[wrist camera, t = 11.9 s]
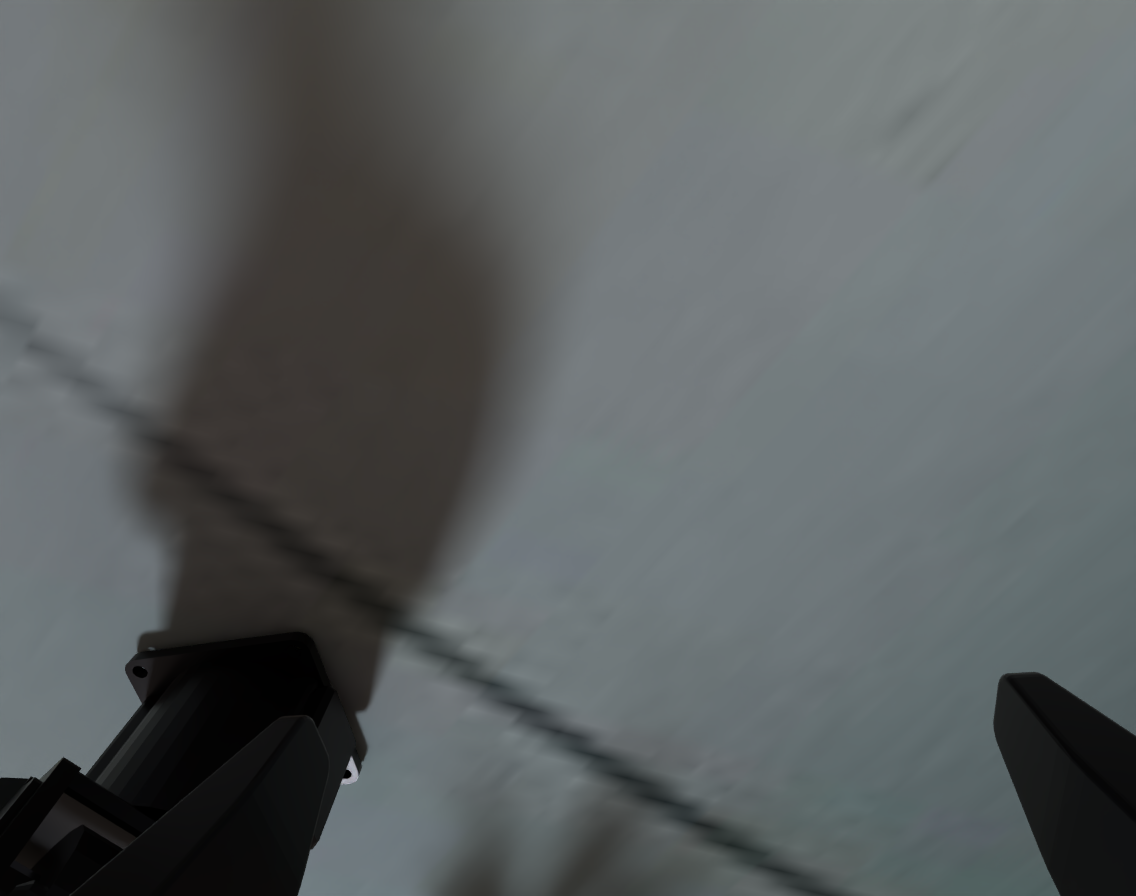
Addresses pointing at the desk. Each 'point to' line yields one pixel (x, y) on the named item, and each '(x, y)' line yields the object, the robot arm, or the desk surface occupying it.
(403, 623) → the desk surface
